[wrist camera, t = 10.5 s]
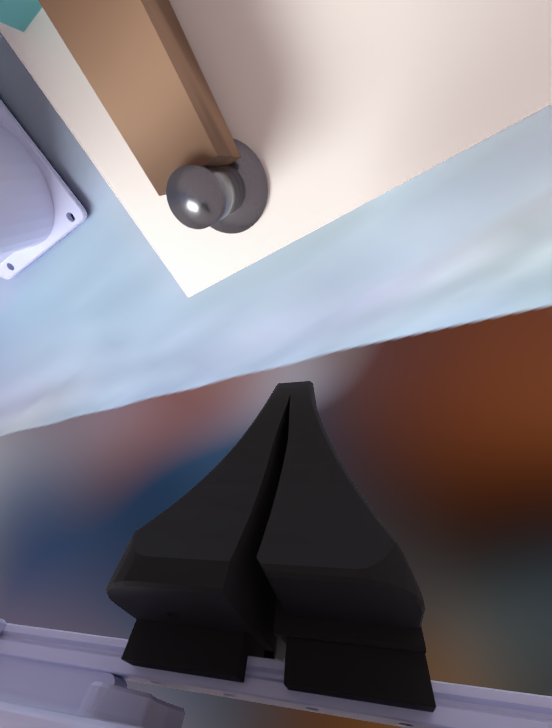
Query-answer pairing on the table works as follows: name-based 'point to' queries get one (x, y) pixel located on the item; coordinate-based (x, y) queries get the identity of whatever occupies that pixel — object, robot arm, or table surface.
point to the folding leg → (156, 101)
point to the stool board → (310, 107)
